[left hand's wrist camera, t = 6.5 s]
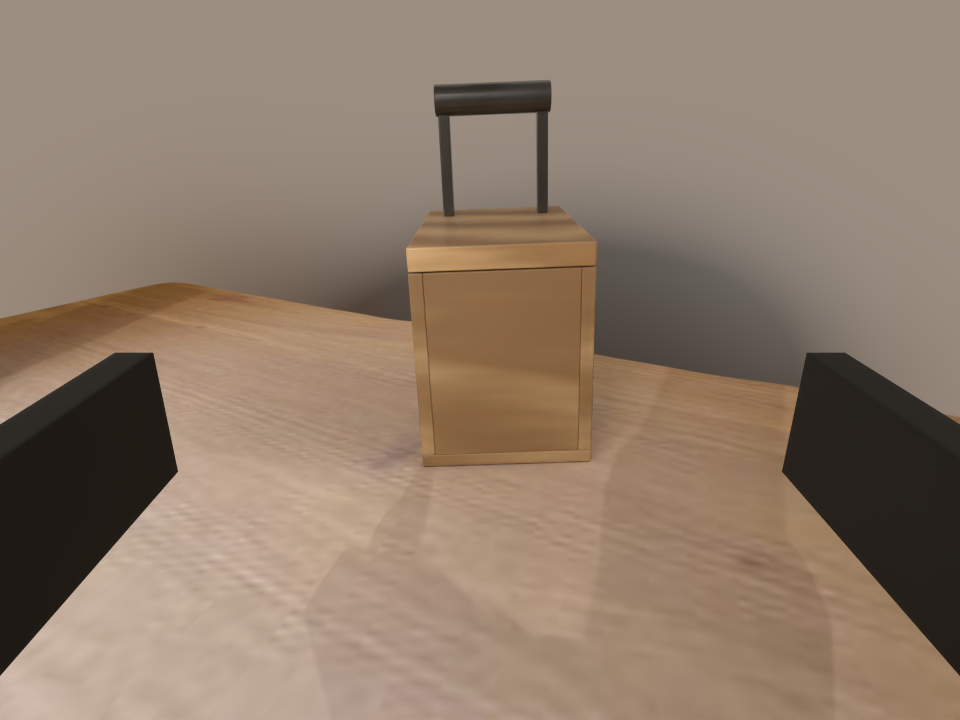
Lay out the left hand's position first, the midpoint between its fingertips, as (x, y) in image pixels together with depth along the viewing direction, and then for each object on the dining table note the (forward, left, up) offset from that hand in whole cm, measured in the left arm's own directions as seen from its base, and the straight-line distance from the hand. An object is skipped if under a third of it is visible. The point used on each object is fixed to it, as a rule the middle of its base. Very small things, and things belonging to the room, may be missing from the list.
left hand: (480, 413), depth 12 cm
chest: (+16, -19, -12) cm, 28 cm away
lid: (+17, -20, -1) cm, 26 cm away
